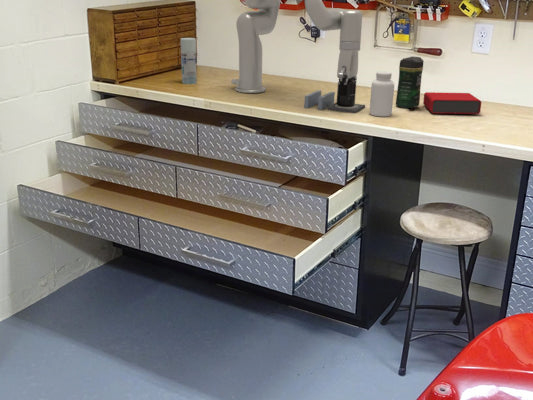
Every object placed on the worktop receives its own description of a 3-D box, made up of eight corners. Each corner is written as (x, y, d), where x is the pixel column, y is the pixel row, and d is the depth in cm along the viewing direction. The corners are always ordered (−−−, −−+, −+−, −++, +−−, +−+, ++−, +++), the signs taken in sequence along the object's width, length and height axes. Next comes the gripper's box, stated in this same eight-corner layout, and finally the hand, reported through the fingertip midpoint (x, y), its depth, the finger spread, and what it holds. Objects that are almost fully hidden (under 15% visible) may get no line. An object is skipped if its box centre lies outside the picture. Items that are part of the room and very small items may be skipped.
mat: (327, 109, 234) (327, 106, 234) (337, 104, 243) (337, 101, 243) (355, 113, 230) (355, 110, 229) (365, 107, 239) (365, 104, 238)
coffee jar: (412, 109, 236) (417, 59, 230) (392, 107, 241) (396, 57, 234) (422, 105, 244) (427, 56, 237) (402, 102, 248) (407, 54, 242)
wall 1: (304, 107, 237) (304, 95, 235) (317, 101, 248) (317, 90, 246) (307, 108, 236) (308, 96, 235) (320, 102, 247) (321, 90, 246)
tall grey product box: (180, 84, 278) (178, 38, 271) (194, 83, 281) (192, 37, 274) (184, 87, 273) (183, 39, 266) (199, 86, 276) (197, 39, 269)
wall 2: (317, 109, 235) (318, 97, 233) (330, 103, 246) (331, 91, 244) (321, 109, 234) (322, 97, 232) (334, 103, 245) (334, 92, 243)
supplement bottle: (354, 107, 233) (356, 74, 228) (335, 106, 234) (337, 74, 230) (355, 104, 239) (357, 72, 235) (337, 103, 240) (339, 71, 236)
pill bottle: (386, 118, 223) (390, 75, 218) (365, 115, 227) (368, 72, 222) (395, 113, 229) (398, 72, 224) (374, 111, 233) (377, 70, 228)
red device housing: (469, 105, 246) (470, 93, 244) (479, 113, 233) (481, 100, 231) (423, 105, 247) (424, 92, 245) (431, 113, 233) (432, 99, 231)
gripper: (347, 42, 237) (345, 88, 243) (331, 47, 223) (329, 96, 229) (367, 44, 234) (364, 90, 240) (351, 49, 220) (349, 98, 226)
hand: (347, 93), depth 234 cm, fingers open, 9 cm apart
